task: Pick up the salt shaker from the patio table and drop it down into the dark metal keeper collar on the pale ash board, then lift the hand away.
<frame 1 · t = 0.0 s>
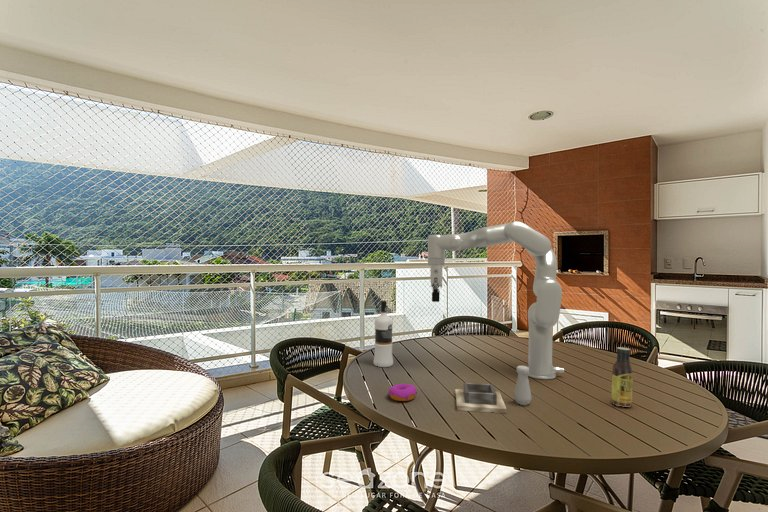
hand: (435, 300, 174), 31 cm above the table, tool pointing down, fingers open, 9 cm apart
vodka: (383, 365, 181), on the table
sauce bottle: (621, 405, 135), on the table
donut: (402, 398, 140), on the table
salt shaker: (522, 403, 136), on the table
keeper: (479, 402, 136), on the table
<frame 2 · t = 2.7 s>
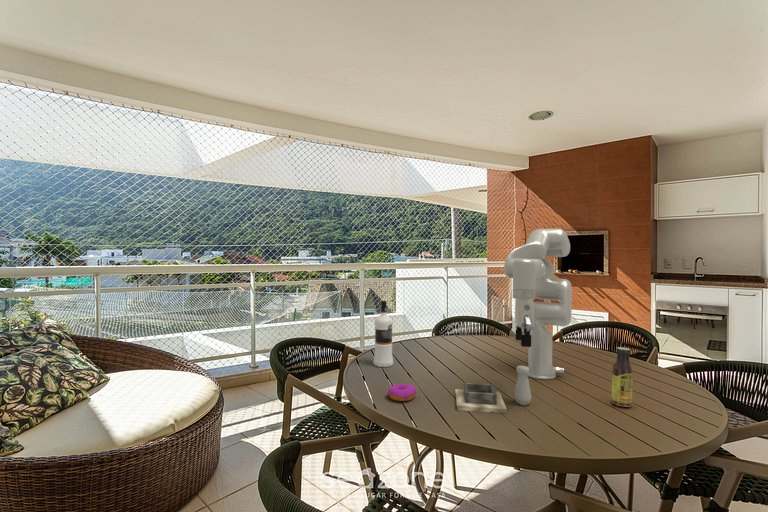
hand: (523, 343, 135), 21 cm above the table, tool pointing down, fingers open, 9 cm apart
nothing on the table moved.
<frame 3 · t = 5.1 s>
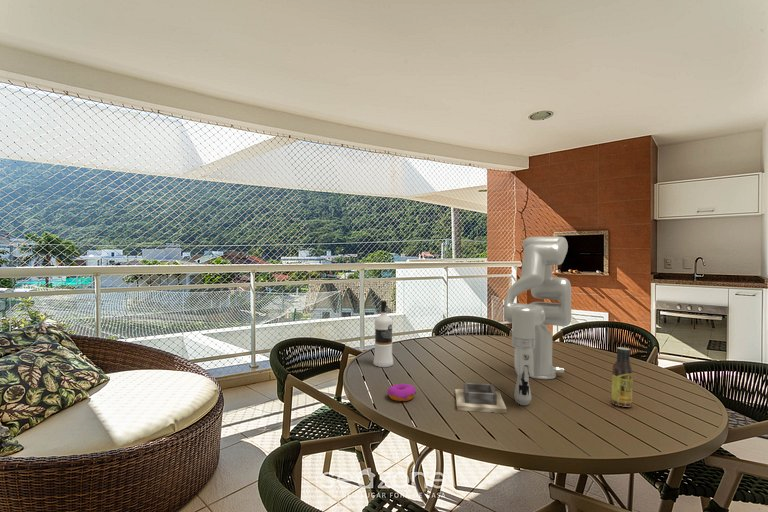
hand: (522, 394, 136), 3 cm above the table, tool pointing down, fingers closed on salt shaker, 3 cm apart
salt shaker: (522, 403, 136), on the table, touching gripper
everything else where it was.
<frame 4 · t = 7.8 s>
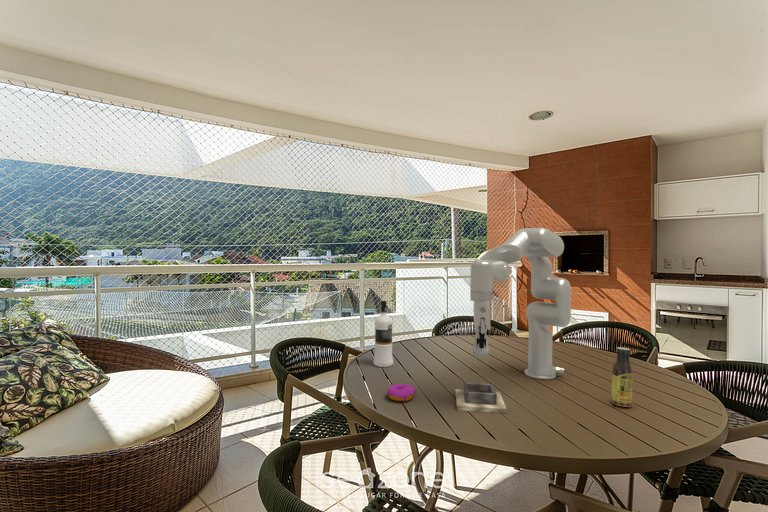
hand: (480, 348, 136), 19 cm above the table, tool pointing down, fingers closed on salt shaker, 3 cm apart
salt shaker: (480, 357, 136), point 16 cm above the table, touching gripper
everything else where it was.
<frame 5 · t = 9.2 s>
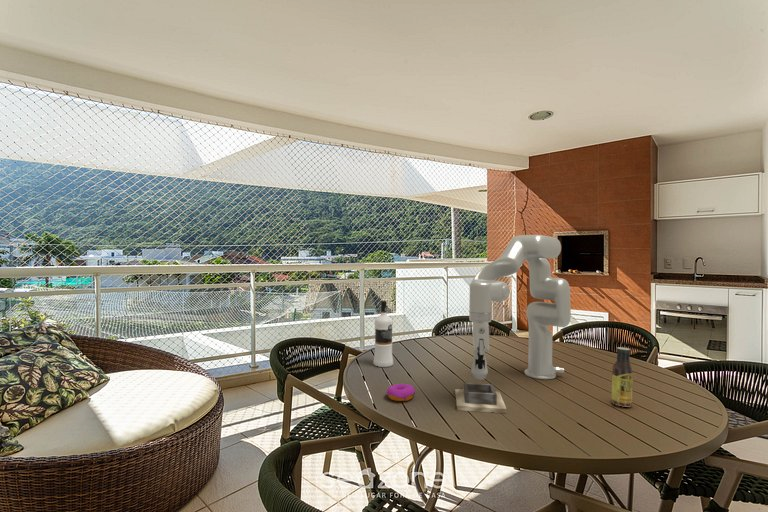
hand: (479, 368, 136), 12 cm above the table, tool pointing down, fingers closed on salt shaker, 3 cm apart
salt shaker: (479, 378, 136), point 9 cm above the table, touching gripper
everything else where it was.
when the fingers open (6 cm above the table, at t = 10.5 s): salt shaker drops 1 cm, resting on keeper.
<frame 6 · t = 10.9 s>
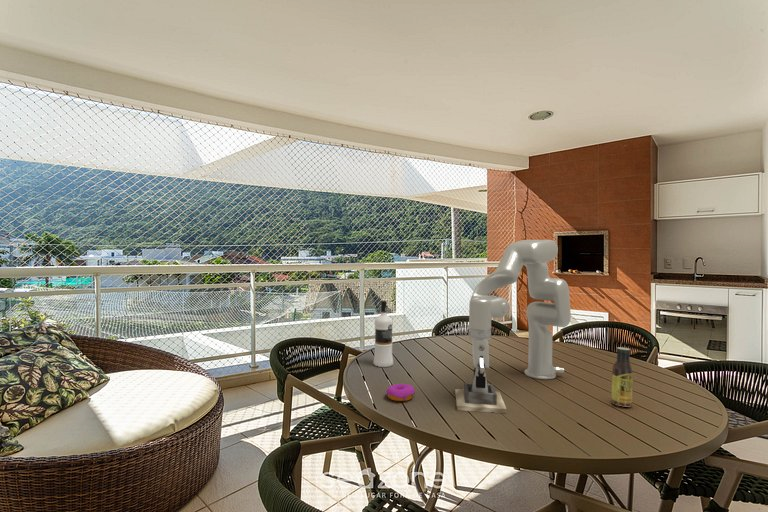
hand: (479, 383, 136), 7 cm above the table, tool pointing down, fingers open, 7 cm apart
salt shaker: (479, 398, 136), point 1 cm above the table, touching keeper
everything else where it was.
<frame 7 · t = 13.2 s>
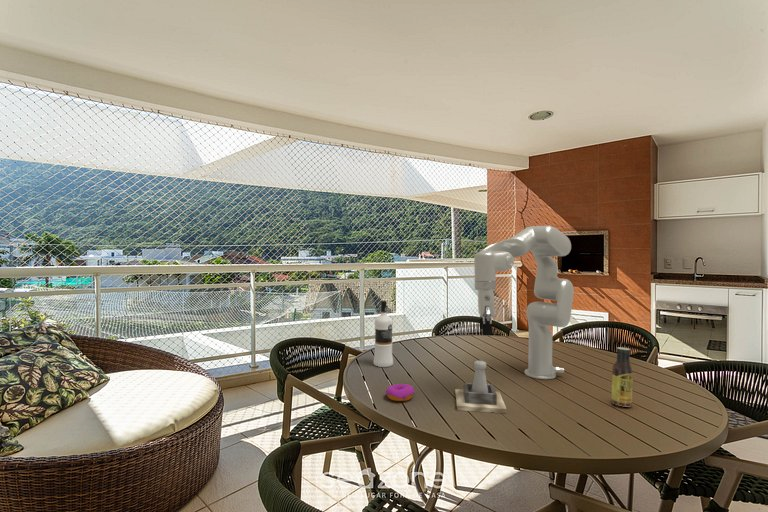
hand: (485, 331, 143), 24 cm above the table, tool pointing down, fingers open, 9 cm apart
nothing on the table moved.
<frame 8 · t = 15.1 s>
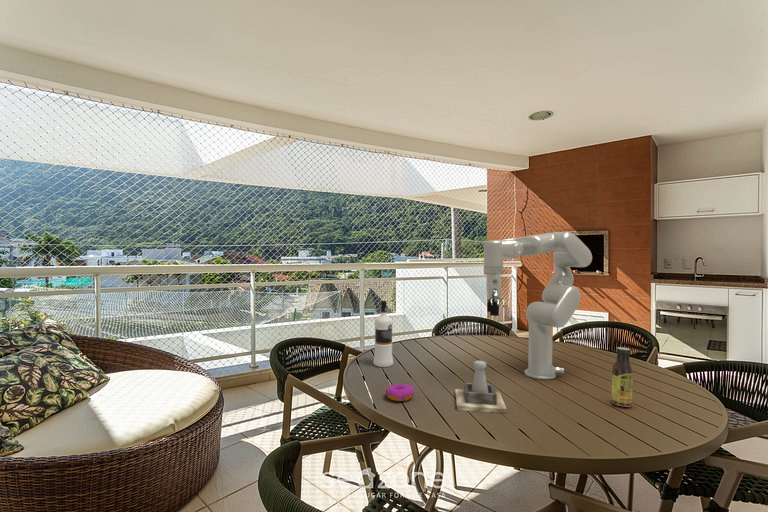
hand: (492, 313, 156), 28 cm above the table, tool pointing down, fingers open, 9 cm apart
at the end: salt shaker 0.3 cm off-centre on the keeper, point 1.3 cm above the keeper's base; salt shaker tilted 0°; the gripper is holding nothing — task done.
